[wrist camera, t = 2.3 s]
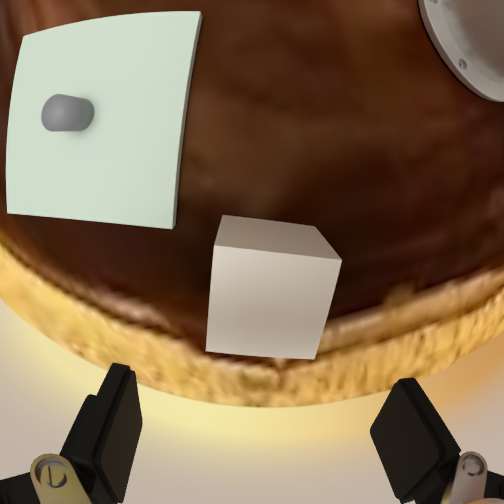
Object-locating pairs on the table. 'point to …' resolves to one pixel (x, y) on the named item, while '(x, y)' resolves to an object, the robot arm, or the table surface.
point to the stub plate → (102, 119)
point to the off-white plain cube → (269, 288)
